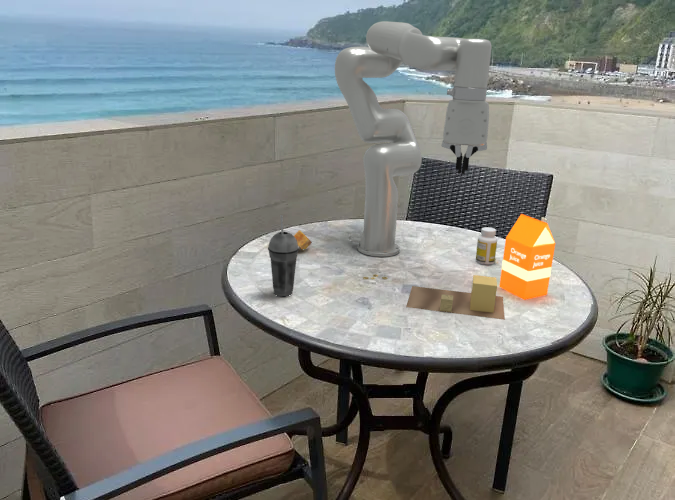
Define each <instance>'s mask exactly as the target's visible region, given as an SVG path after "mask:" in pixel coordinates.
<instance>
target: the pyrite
mask: <svg viewBox="0 0 675 500" xmlns="http://www.w3.org/2000/svg"><path fill="white" fill-rule="evenodd" d="M293 236H294V237H295V238H296V240H297V243H298V248H300V249H301V250H302V251H303V249H305V250H307V249H308V248H309V247H310V246H311V245H312V241H311V239H310V238H309V237H308V236H307V235H306V234H304V232H302V230H301V229H299V230H298V231H297V232H295V234H294V235H293Z"/></svg>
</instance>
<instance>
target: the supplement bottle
mask: <svg viewBox="0 0 675 500" xmlns="http://www.w3.org/2000/svg"><path fill="white" fill-rule="evenodd" d="M480 231H481V232H480V235H478V237H477V244H476V253H475V254H476V255H475V262H476V263H478V264H481V265H487V266H489V265H493V264H494V263H495V262H496V254H497V245H498V238H497V237H496V234H497V229H496V228H493V227H487V226H485V227H482V228H481V230H480Z"/></svg>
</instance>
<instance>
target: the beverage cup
mask: <svg viewBox="0 0 675 500" xmlns="http://www.w3.org/2000/svg"><path fill="white" fill-rule="evenodd" d="M283 217H284V216H283V215H282V214H280V231H278V232H276V233H275V234H273V236H272V237H270V239H269V242H268V248H267V250H268V255H269V258H270V267H271V279H272V289H273V294H275V295H277V296H276V297H278V296H289V295H291V294H292V295H293V291H294V284H295V275H296V266H297V265H296V264H297V258H298V255H299V250H300V249H299V248H300V247H299V246H298V243H297V240H296V238H295V237H294V235H293V234H292V233H290V232H288V231H284V219H283ZM275 295H274V296H275ZM292 295H291V296H292ZM289 297H290V296H289Z"/></svg>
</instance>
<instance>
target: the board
mask: <svg viewBox="0 0 675 500" xmlns="http://www.w3.org/2000/svg"><path fill="white" fill-rule="evenodd" d="M410 288H411V289H410V293H409V294H408V295H409V296H408V298H407V299H408V300H407V303H406V305H405V307H406V308H409V309H417V310H426V311H433V312H441V313H445V312H444V311H440V305H441V296H442V295H451V296H453V303H452V312H447V313H448V314H458V315H464V316H473V317H480V318H488V319H497V320H502V321H504V320H506V318H505V316H506V315H505V306H504V296H501V295H500V296H499V295H496V298H495V305H494V313H492V312H483V311H475V310H470V300H471V292H466V291H456V290H451V289H450V290H449V289H442V288H434V287H433V288H431V287H425V286H424V287H423V286H417V285H416V286H415V285H412V286H411V287H410Z"/></svg>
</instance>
